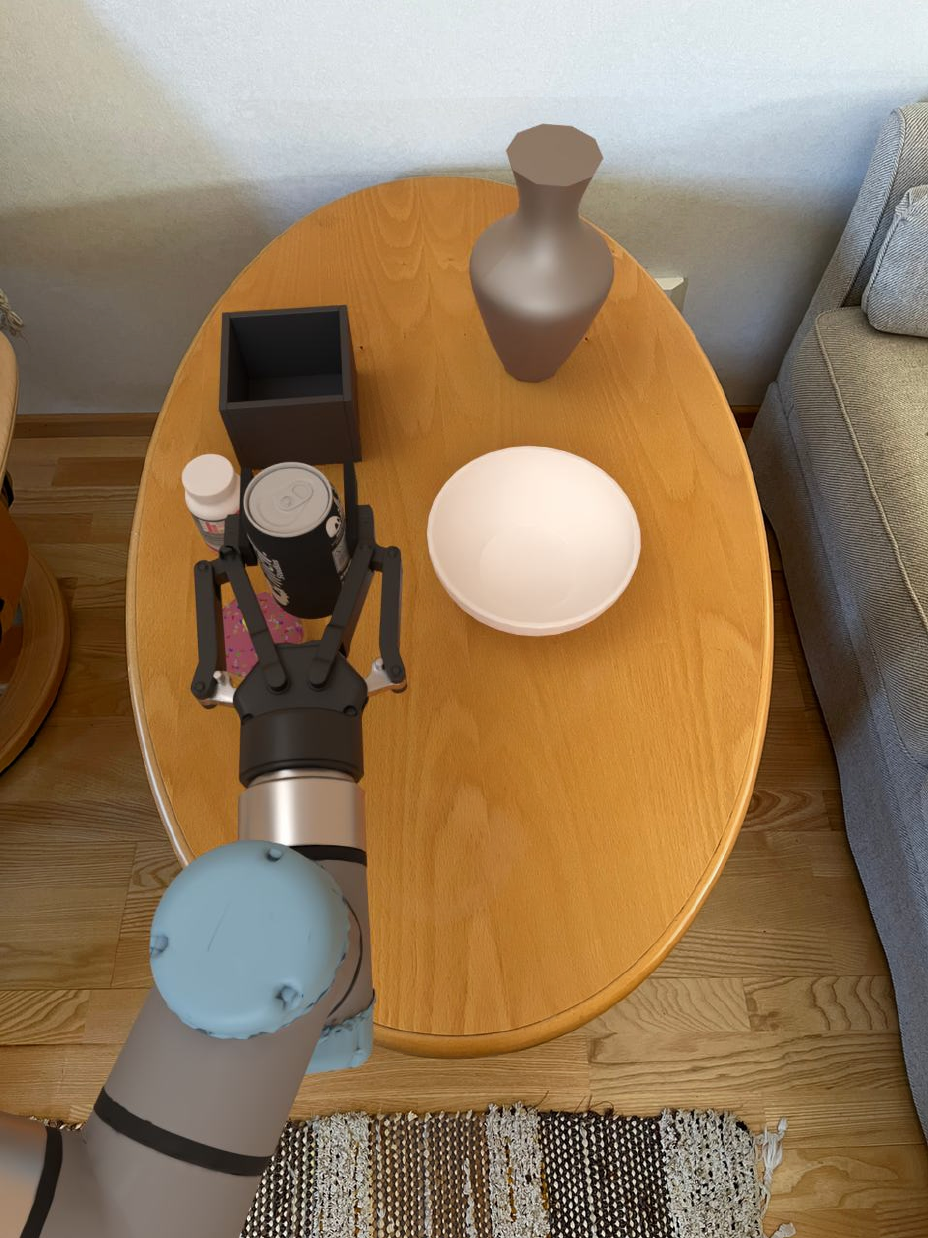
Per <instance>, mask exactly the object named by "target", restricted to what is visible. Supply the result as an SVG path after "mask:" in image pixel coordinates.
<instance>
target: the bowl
mask: <svg viewBox="0 0 928 1238" xmlns="http://www.w3.org/2000/svg"><path fill="white" fill-rule="evenodd" d="M427 520H428V521H427V529H426V539H427V545H428V546H427V547H428V554H429V558H430V561H431V564H432V567H433V570H434V573H435V576H436V577H437V579H438V580H439V583H441V585H442V587H443V588H444V590H445V592H446V593H447V595H448V597H450V599H451V600H452V601H453V602H455V603H456V605H457V606H458V607H459V608H460V609H461V610H462V611H464V613H466V614H467V615H469V616H470V617H472V618H473V619H475V620H476V621H477V622H479V623H481V624H484V625H486V626H488V627H490V628H493V629H495V630H497V631H500V632H504V633H508V634H512V635H516V636H525V637H526V636H528V637H544V636H553V635H560V634H563V633H568V632H571V631H573V630H578V629H579V628H581V627H583V626H586V625H587V624H589V623H590V622H593V621H594V620H596V619H597V618H598V617H600V616H601V615H602V614H603V613H604V612H606V611H607V610H608V609H609V608H611V607H612V606H613V605H614V604H615V603H616V602H617V601H618V599H619V598H620V597H621V596H622V594H623V593H624V592H625V590H626V589H627V588H628V587H629V586H628V585H629V583H630V582H631V580H632V578H633V575H634V573H635V571H636V569H637V567H638V564H639V563H638V562H639V558H640V553H641V549H642V545H641V543H642V542H641V538H642V537H641V527H640V523H639V519H638V516H637V512H636V510H635V509H634V506H633V504H632V502H631V500H630V498H629V496H628V495H627V494H626V492H625V491H624V490H623V488H622V487H621V486H620V485H619V483H618V482H617V481H616V480H615V479H614V478H613V477H611V476H610V475H609V474H608V473H607V472H606V471H604V469H602V468H601V467H599V466H597V465H596V464H594V463H593V462H591V461H589V460H587V459H586V458H584V457H581V456H579V455H577V454H574V453H571V452H569V451H566V450H561V449H557V448H552V447H550V446H549V447H548V446H534V445H523V446H513V447H511V446H510V447H506V448H502V449H497V450H494V451H490V452H488V453H486V454H483V455H481V456H479V457H476V458H474V459H472V460H471V461H469V462H468V463H466V464H465V465H464V466H462V467H461V468H459V469H458V470H456V471H455V472H454V473H453V474H452V476H451V477H449V479H447V480H446V482H444V484H443V485H442V487H441V489H440V490H439V491H438V493H437V495H436V496H435V498H434V500H433V503H432V506H431V508H430V512H429V514H428V519H427Z"/></svg>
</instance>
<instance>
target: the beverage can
mask: <svg viewBox="0 0 928 1238" xmlns="http://www.w3.org/2000/svg"><path fill="white" fill-rule="evenodd" d="M242 520H243V525H244V528H245V530H246V533H247V535H248V538H249V540H250V542H251V545H252V547H253V549H254V552H255V554H256V557H257V559H258V565H259V566H260V568H261V571H262V574H263V575H264V578H265V580H266V582H267V585H268V587H269V589H270V592H271V594H273V597H274V599H275V601H276V602H277V604H278V605H279V606H280V607H281V608H282V609H283V610H284V611H286V612H287V613H289V614H290V615H292V616H295V617H298V618H302V619H303V620H321V619H326V618H328V617H332V614H333V611H334V608H335V605H336V603H337V600H338V597H339V594H340V591H341V589H342V586H343V583H344V580H345V577H346V575H347V572H348V569H349V566H350V563H351V561H352V559H350V556H349V552H348V547H347V543H346V535H345V529H346V523H345V512H344V508H343V503H342V499H341V497H340V494H339V492H338V491H337V489H336V488H335V486H334V485H333V484H332V483H331V482H330V481H329V480H328V478H327V477H326V476H325V475H324V474H323V472H321V471H320V470H319V469H318V468H315V467H314V466H313V465H307V464H304V463H298V462H285V463H279V464H276V465H273V466H270V467H268V468H266V469H262V470H261V471H260V472H258V473H257V474H256V475H254V478H253V479H252V481H251V482H250V483H249V485H248V487H247V489H246V491H245V495H244V506H243V513H242Z"/></svg>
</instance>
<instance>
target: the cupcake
mask: <svg viewBox="0 0 928 1238" xmlns="http://www.w3.org/2000/svg"><path fill="white" fill-rule="evenodd" d="M254 592H255V595H256V597H257V600H258V602H259V605H260V607H261V610H262V612H263V615H264V618H265V620H266V623H267V625H268V628H269V630H270V633H271V636H272V638H273V641H274V643H284V642H288V643H294V644H302V643H305V642H308V629H307V627H306V623H305V621H304V619H302V618H298V617H295V616H292V615H290V614H289V613H287V612H286V611H284V610H283V609H282V608H281V607H280V606H279V605H278V604H277V602H276V601H275V599H274V597H273V594H272V592H271V593H270V592H267V591H265V592H260V591H254ZM223 622H224V636H225V650H226V665H227V673H228V674H229V676H230V677H231V678H233V679H236V680H238V681H240V682H242V681H243V680H244V678H245V677H246V676H247V674H248V673H249V672H250V670H251V669H252V668H253V667H254V665H255V664H256V663H257V661H258V660H259V659H258V657H257V654H256V652H255V649H254V646H253V644H252V641H251V638H250V634H249V632H248V629H247V626H246V624H245V621H244V619H243V616H242V613H241V611H240V608H239V605H238V603H237V600H236V598H235V599H234V600H232V601H230V602H228V603H227V604H226V605H225V606H223Z"/></svg>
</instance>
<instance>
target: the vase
mask: <svg viewBox="0 0 928 1238" xmlns="http://www.w3.org/2000/svg"><path fill="white" fill-rule="evenodd" d="M505 152H506V155H507V158H508V161H509V165H510V168H511V171H512V174H513V178H514V182H515V185H516V189H517V195H518V206H517V209H516V211H514V212H511V213H509V214H506V215H504V216H502V217H500V218H498V219H497V220H495V221H493V222H492V223H490V225H489V226H488V227H486V228H485V229H484V230H483V231H482V232H481V234H480V235H479V237H478V238H477V240H476V241H475V243H474V245H473V246H472V248H471V249H472V250H471V253H470V257H469V262H468V263H469V264H468V265H469V266H468V273H469V274H468V275H469V280H470V286H471V290H472V293H473V296H474V299H475V302H476V305H477V308H478V311H479V314H480V317H481V321H482V322H483V325H484V328H485V331H486V333H487V335H488V338H489V341H490V342H491V343H490V344H491V345H492V347H493V349H494V351H495V354H496V355H497V357H498V359H499V360H500V362H501V364H502V366H503V368H504V372H506V373H507V374H509V375H510V376H512V377H513V378H514V379H516V380H517V381H519V382H526V383H527V382H528V383H541V382H543V381H545V380H547V379H550V378H552V377H554V376H555V374H556V373H557V371H558V370H559V369H560V368H561V367H562V366H563V365H564V363H566V361H567V360H568V359H569V357H571V355H572V354H573V353H574V351H575V349H576V348H577V347H578V345H579V344H580V343H581V342H582V339H583V338H584V337H585V335H586V333H587V332H588V331H589V329H590V327H591V326H592V324H593V322H594V321H595V319H596V317H597V316H598V315H599V313H600V311H601V310H602V308H603V306H604V304H605V302H606V301H607V299H608V297H609V294H610V291H611V289H612V286H613V283H614V277H615V264H614V262H615V261H614V257H613V253H612V250H611V248H610V246H609V244H608V242H607V241H606V239H605V238H604V236H603V235H602V234H601V232H599V231H598V230H597V229H596V228H595V227H594V226H592V225H591V224H590V223H589V222H588V221H586V220H584V219H583V218H580V213H579V209H580V204H581V202H582V199H583V196H584V194H585V192H586V190H587V188H588V187H589V184H590V183H591V181H592V179H593V178H594V176H595V174H596V172H597V170H598V169H599V167H600V165H601V163H602V162H603V160H604V156H603V154H602V152H601V149H600V147H599V144H598V142H597V140H596V138H595V137H592V136H591V135H589V134H588V133H585V132H584V131H582V130H580V129H578V128H576V127H574V126H573V125H567V124H566V125H564V124H553V123H551V124H550V123H541V124H537V125H535V126H532V127H529V128H526V129H524V130H522V131H518V132H517V133H515V135H514V137H513V139H512V140H511V142H510V143H509V145H508V146H507V148H506V149H505Z"/></svg>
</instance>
